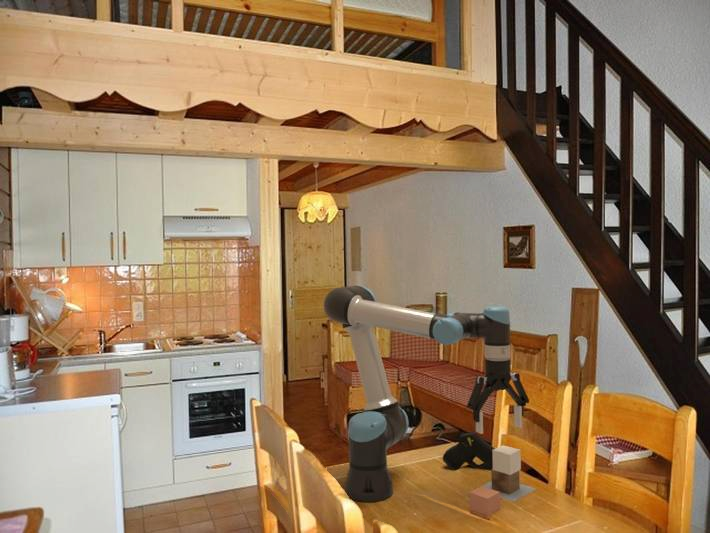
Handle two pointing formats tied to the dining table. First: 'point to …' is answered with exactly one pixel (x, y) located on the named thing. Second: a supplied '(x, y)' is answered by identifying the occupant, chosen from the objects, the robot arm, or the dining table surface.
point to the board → (514, 495)
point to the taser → (469, 452)
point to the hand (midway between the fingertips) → (499, 429)
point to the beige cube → (506, 459)
